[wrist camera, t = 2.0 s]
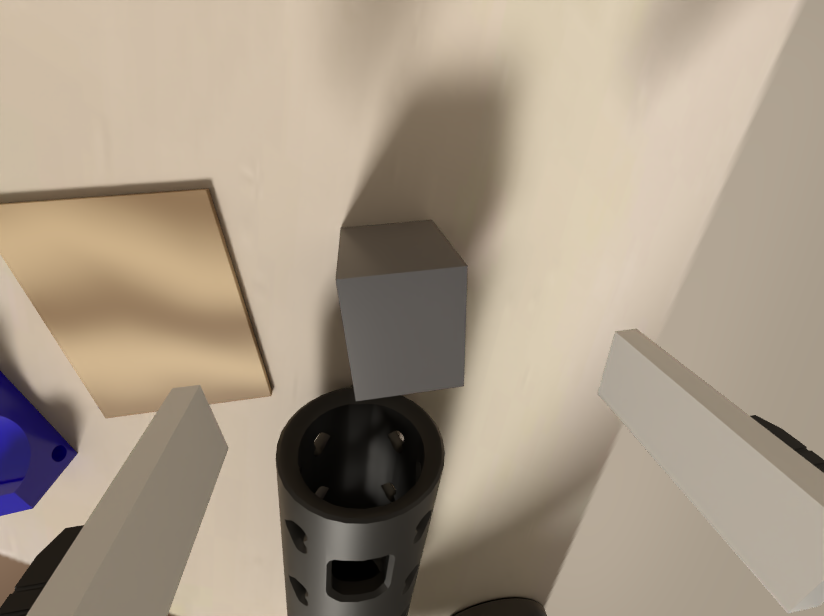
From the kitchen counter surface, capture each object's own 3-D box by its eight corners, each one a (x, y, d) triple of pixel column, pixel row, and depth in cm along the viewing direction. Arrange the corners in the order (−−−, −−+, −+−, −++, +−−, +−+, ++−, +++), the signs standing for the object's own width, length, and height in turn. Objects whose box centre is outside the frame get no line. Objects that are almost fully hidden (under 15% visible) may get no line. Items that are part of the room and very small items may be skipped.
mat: (272, 391, 23) (270, 396, 23) (109, 413, 22) (105, 418, 22) (208, 188, 17) (205, 189, 17) (-22, 205, 16) (-30, 206, 16)
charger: (434, 334, 23) (463, 411, 17) (357, 343, 23) (359, 426, 17) (431, 219, 20) (467, 266, 14) (340, 227, 19) (335, 279, 13)
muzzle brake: (429, 375, 25) (472, 520, 16) (390, 583, 38) (403, 729, 29) (288, 374, 23) (247, 537, 14) (297, 593, 36) (279, 752, 27)
